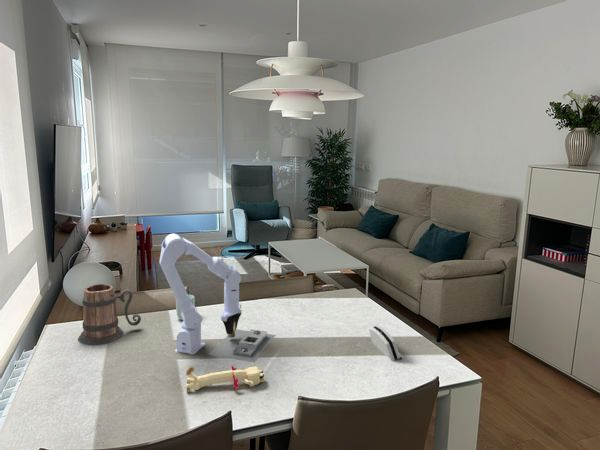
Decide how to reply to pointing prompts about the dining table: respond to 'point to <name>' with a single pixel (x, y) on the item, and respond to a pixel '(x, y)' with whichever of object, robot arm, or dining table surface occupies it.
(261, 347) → the mat
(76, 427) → the dining table surface
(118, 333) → the tankard
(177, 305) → the cup
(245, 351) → the latch strike plate
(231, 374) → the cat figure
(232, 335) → the pin
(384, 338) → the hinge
